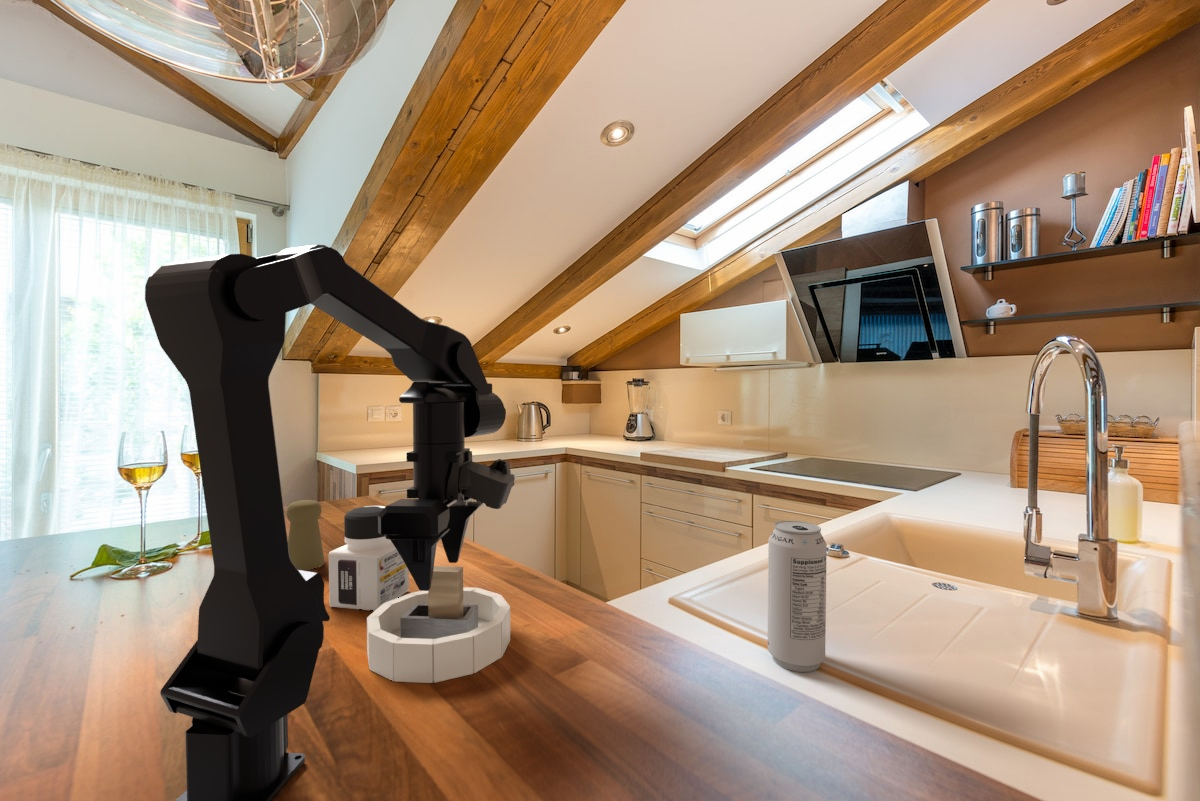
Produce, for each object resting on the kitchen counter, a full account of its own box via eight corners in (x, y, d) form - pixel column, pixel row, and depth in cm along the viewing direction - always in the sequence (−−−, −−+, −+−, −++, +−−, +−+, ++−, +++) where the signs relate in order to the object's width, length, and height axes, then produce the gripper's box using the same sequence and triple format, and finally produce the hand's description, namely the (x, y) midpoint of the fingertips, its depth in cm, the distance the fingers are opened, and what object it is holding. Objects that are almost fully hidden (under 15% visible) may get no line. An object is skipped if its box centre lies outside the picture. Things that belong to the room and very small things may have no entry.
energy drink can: (802, 644, 64) (804, 518, 64) (837, 670, 58) (839, 531, 58) (757, 650, 62) (758, 521, 62) (788, 678, 57) (789, 535, 56)
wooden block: (457, 641, 62) (457, 572, 62) (428, 639, 63) (428, 570, 63) (463, 634, 64) (463, 566, 64) (435, 632, 65) (434, 565, 64)
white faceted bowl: (487, 685, 55) (487, 646, 55) (339, 679, 56) (339, 641, 56) (520, 619, 71) (520, 588, 71) (404, 615, 72) (403, 585, 72)
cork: (286, 562, 93) (285, 499, 93) (325, 558, 96) (324, 496, 95) (282, 573, 88) (281, 506, 87) (324, 568, 90) (323, 502, 90)
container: (378, 612, 73) (377, 516, 73) (328, 607, 75) (326, 513, 74) (409, 591, 81) (409, 503, 80) (363, 587, 82) (362, 501, 82)
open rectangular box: (469, 650, 61) (469, 621, 61) (396, 648, 61) (395, 619, 61) (481, 630, 66) (481, 603, 66) (414, 628, 66) (414, 601, 66)
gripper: (485, 452, 53) (486, 610, 54) (524, 434, 72) (524, 552, 72) (374, 451, 54) (376, 607, 54) (441, 434, 72) (442, 550, 73)
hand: (440, 575), depth 63 cm, fingers open, 9 cm apart
